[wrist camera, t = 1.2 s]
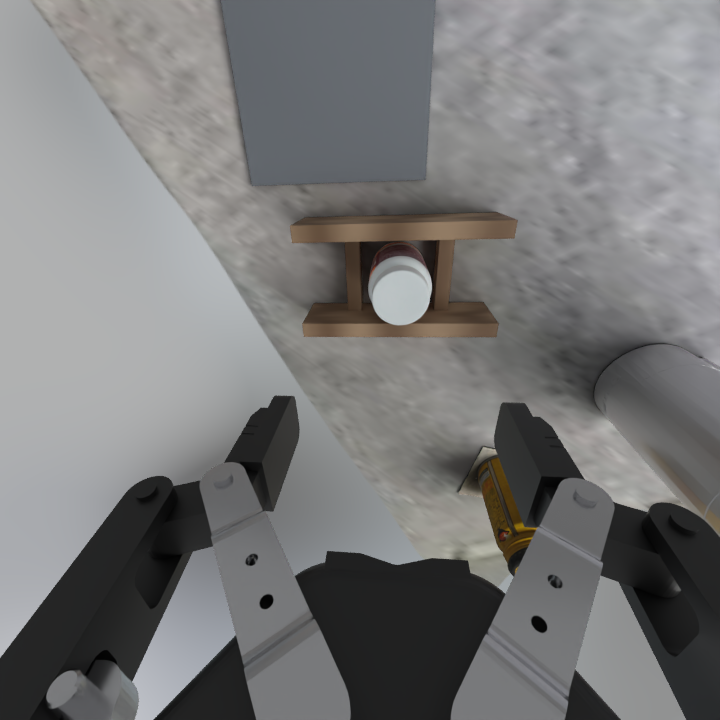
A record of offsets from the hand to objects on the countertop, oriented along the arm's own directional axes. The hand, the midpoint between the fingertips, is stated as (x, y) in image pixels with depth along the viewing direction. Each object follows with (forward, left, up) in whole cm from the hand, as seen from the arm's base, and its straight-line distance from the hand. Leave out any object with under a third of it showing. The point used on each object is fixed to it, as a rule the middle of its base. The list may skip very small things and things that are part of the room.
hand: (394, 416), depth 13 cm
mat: (+4, -15, -20) cm, 25 cm away
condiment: (-14, +25, -20) cm, 35 cm away
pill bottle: (-1, -1, -20) cm, 20 cm away
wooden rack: (-1, -1, -20) cm, 20 cm away
